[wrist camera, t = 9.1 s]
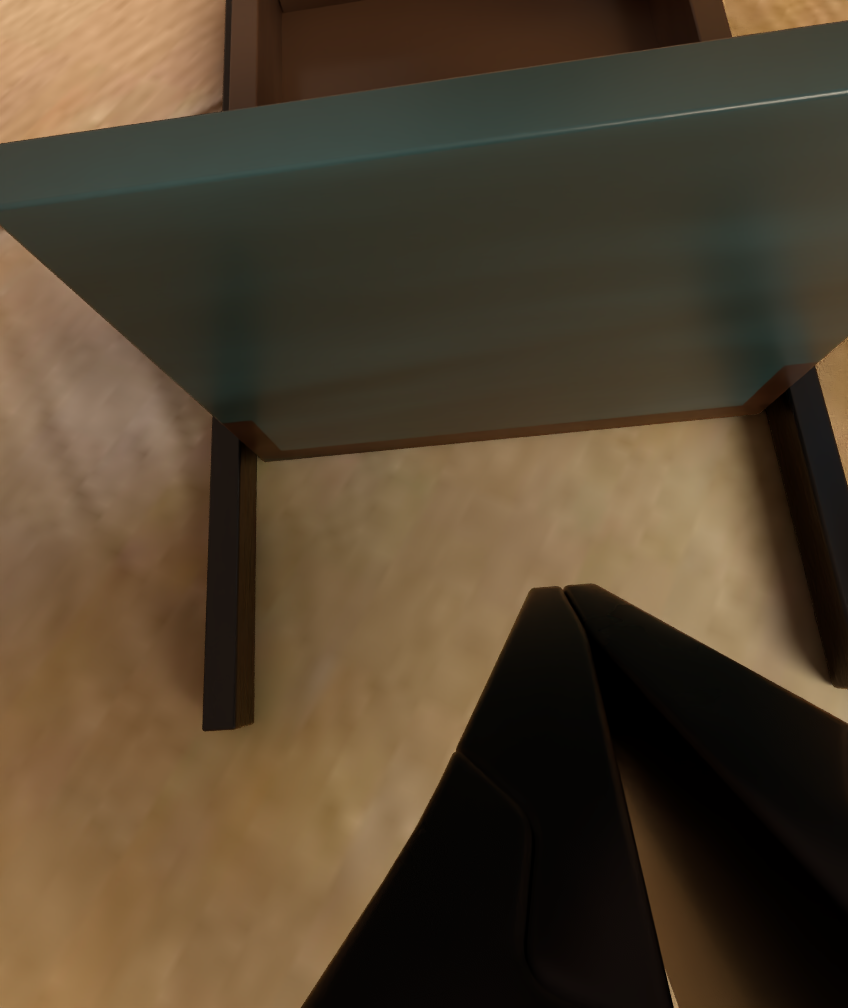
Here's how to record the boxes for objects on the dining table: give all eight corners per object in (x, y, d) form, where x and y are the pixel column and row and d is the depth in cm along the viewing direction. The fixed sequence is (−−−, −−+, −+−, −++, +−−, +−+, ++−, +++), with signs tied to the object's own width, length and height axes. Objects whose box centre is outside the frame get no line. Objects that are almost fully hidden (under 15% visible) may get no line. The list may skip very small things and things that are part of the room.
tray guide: (868, 685, 13) (905, 689, 12) (223, 725, 14) (201, 731, 13) (677, -59, 19) (689, -104, 18) (240, 11, 20) (225, -28, 19)
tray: (759, 414, 15) (1187, 45, 6) (264, 462, 16) (-21, 210, 7) (652, -36, 19) (805, -652, 10) (267, 24, 20) (93, -487, 11)
